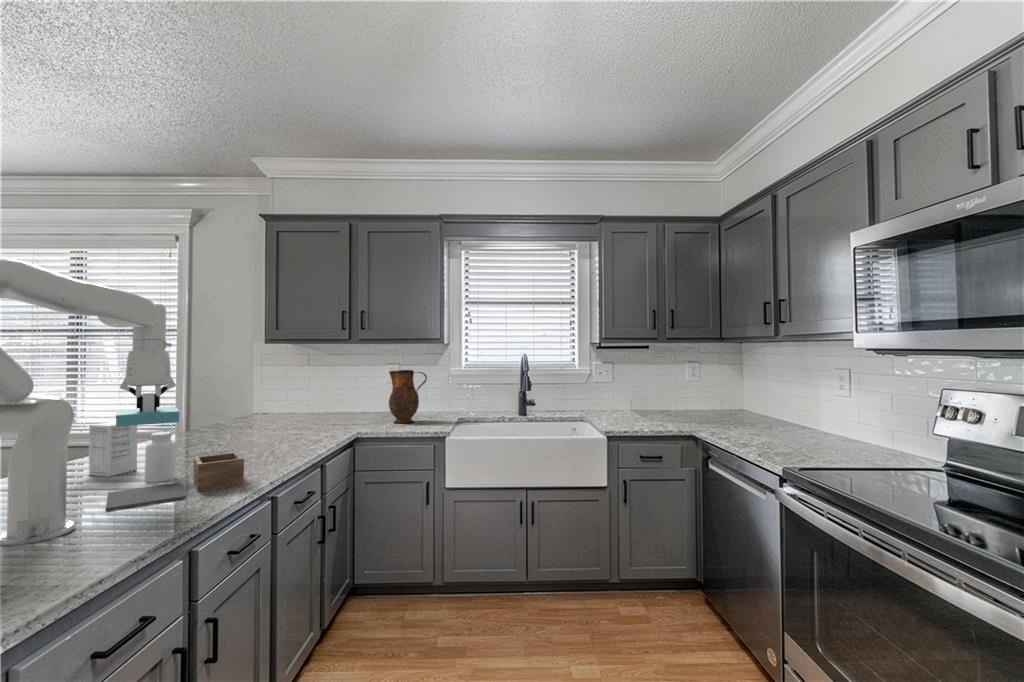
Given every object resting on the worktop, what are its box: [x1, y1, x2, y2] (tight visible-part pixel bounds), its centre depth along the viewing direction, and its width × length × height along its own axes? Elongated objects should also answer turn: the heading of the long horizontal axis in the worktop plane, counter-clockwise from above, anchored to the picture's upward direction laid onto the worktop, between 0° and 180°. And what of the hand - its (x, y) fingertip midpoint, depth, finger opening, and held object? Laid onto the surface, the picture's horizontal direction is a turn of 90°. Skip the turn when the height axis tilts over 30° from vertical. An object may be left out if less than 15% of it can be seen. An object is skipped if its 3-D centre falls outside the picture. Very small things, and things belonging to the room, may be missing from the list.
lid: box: [115, 391, 180, 427], centre depth 135 cm, size 14×14×8 cm
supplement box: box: [88, 420, 138, 478], centre depth 160 cm, size 10×9×17 cm
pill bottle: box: [144, 431, 177, 484], centre depth 152 cm, size 8×8×15 cm
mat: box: [105, 482, 186, 512], centre depth 135 cm, size 17×17×1 cm
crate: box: [192, 451, 245, 492], centre depth 149 cm, size 12×12×8 cm
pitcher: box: [388, 369, 428, 425], centre depth 271 cm, size 17×21×30 cm
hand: (148, 409), depth 135 cm, fingers closed on lid, 2 cm apart
